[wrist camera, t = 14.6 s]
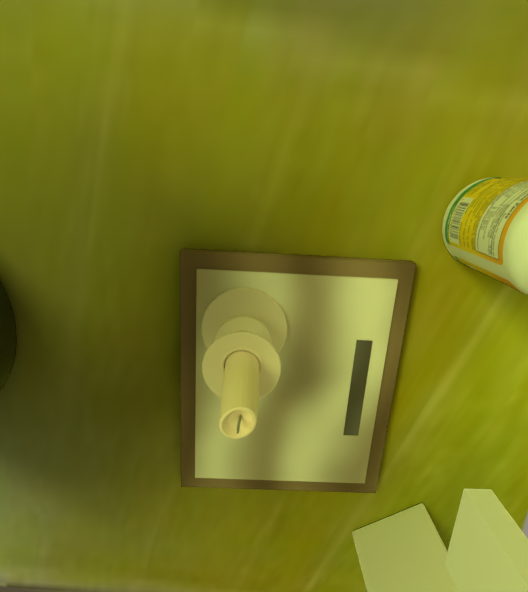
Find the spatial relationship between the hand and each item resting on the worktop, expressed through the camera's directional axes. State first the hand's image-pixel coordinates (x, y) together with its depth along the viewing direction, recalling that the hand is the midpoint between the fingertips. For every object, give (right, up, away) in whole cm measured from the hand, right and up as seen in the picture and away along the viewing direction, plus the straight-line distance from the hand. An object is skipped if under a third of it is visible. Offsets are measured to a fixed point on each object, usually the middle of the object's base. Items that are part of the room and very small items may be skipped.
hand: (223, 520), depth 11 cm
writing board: (+3, +1, +16) cm, 16 cm away
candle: (0, +4, +14) cm, 15 cm away
